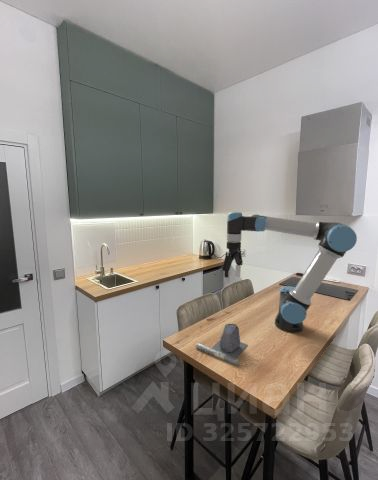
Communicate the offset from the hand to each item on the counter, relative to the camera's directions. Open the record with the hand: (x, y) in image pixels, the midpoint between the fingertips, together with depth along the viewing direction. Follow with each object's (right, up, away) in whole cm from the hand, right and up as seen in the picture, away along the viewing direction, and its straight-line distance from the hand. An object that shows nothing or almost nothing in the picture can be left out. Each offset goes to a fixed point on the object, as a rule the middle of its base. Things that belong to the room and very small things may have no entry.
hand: (232, 279), depth 136 cm
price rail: (-11, -32, -20) cm, 40 cm away
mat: (-4, -31, -14) cm, 35 cm away
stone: (-4, -31, -14) cm, 35 cm away
